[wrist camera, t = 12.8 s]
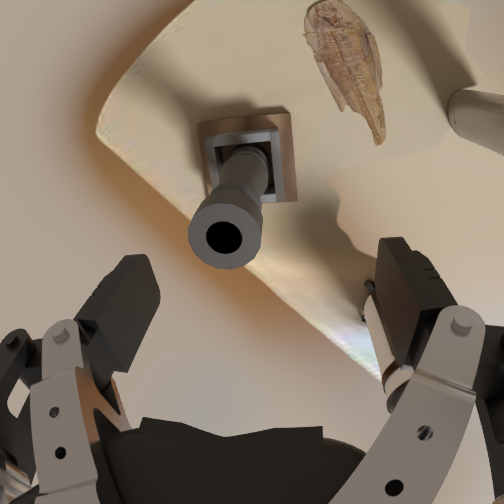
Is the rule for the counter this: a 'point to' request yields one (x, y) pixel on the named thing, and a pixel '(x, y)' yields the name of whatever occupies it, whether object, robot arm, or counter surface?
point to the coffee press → (384, 350)
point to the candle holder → (232, 211)
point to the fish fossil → (347, 61)
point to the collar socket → (252, 131)
